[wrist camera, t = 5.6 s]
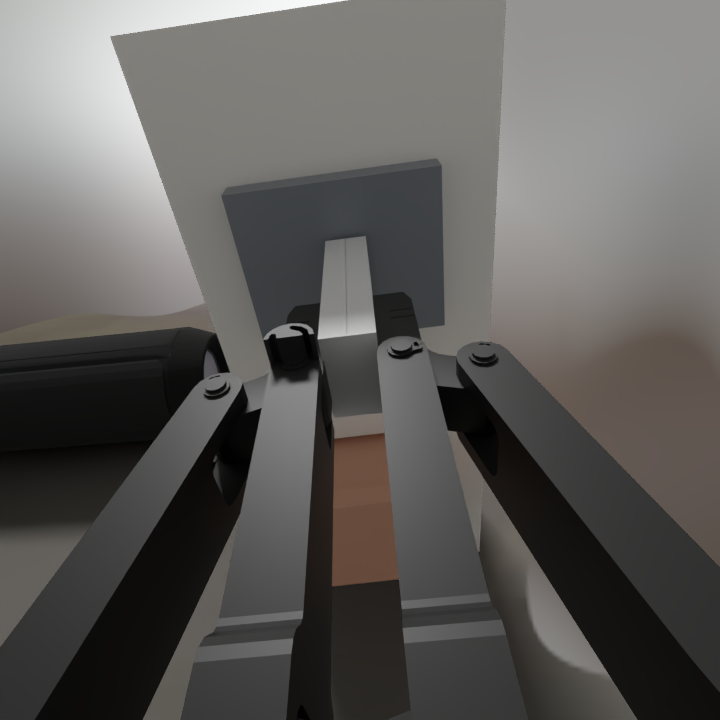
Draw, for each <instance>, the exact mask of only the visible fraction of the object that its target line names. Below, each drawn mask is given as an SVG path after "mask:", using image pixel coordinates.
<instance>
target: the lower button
mask: <svg viewBox="0 0 720 720" xmlns="http://www.w3.org/2000/svg"><path fill="white" fill-rule="evenodd" d="M398 579H399V576H398V566H397V556H396V545H395V535H394V525H393V515H392V504H391V494H390V484H389V473H388V463H387V453H386V443H385V433H379V434H371V435H362V436H353V437H345V438H336V439H334V494H333V557H332V586H341V585H350V584H360V583H369V582H379V581H388V580H398Z"/></svg>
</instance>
